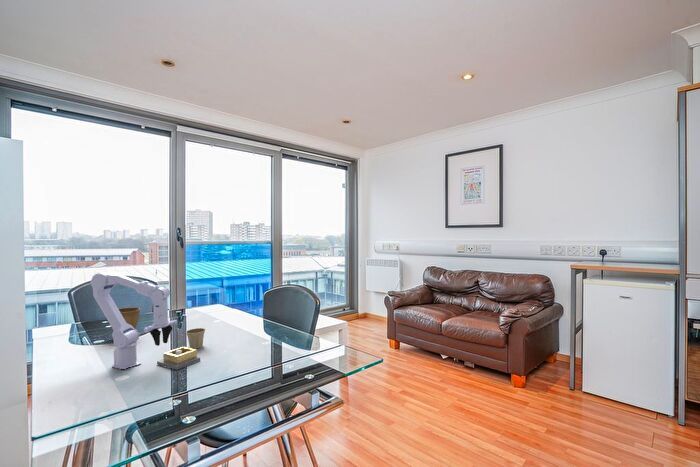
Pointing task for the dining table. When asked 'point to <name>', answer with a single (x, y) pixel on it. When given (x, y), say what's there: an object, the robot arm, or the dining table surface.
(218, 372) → the dining table surface
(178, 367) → the grey piece
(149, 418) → the dining table surface
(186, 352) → the gold square frame
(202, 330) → the flower pot
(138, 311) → the plant pot
